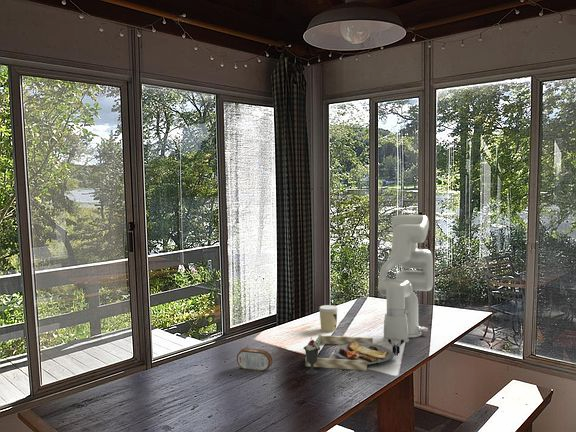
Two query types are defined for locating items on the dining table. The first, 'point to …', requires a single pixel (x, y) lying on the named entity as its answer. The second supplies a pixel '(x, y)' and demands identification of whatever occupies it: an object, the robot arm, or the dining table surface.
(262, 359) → the tin
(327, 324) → the coffee cup
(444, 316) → the dining table surface
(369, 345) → the food plate
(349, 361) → the bay
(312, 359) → the sundae
